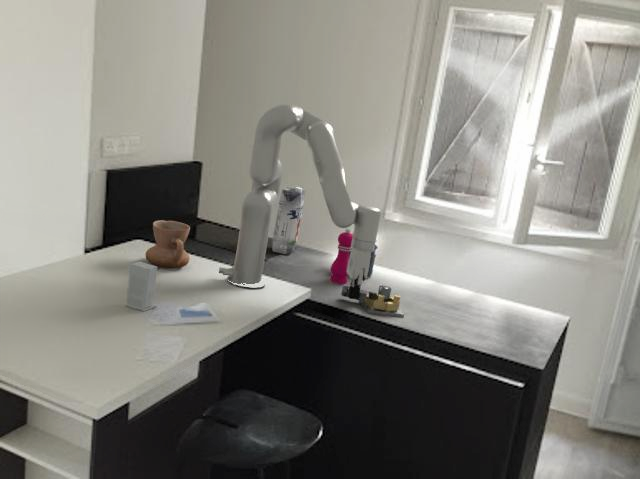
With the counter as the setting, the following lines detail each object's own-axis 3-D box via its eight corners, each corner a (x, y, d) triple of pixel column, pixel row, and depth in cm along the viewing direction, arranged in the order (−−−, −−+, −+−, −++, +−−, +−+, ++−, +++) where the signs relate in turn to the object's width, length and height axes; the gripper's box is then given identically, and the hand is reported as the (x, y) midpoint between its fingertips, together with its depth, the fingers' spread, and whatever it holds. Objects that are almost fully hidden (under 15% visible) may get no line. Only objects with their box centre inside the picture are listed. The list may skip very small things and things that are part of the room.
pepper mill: (346, 286, 247) (356, 232, 243) (326, 281, 249) (336, 227, 245) (349, 281, 254) (359, 229, 250) (330, 277, 256) (340, 224, 252)
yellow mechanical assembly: (337, 298, 226) (339, 285, 225) (345, 290, 236) (347, 279, 235) (394, 313, 221) (397, 300, 220) (400, 304, 231) (403, 292, 230)
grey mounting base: (367, 313, 221) (372, 290, 219) (359, 301, 232) (363, 279, 231) (403, 317, 223) (408, 295, 222) (393, 305, 235) (397, 284, 233)
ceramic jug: (137, 257, 236) (142, 217, 232) (178, 258, 243) (183, 219, 240) (154, 274, 221) (159, 232, 218) (196, 274, 229) (202, 233, 226)
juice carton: (269, 251, 277) (280, 185, 272) (275, 246, 287) (286, 183, 282) (291, 256, 276) (302, 190, 270) (296, 251, 286) (307, 187, 281)
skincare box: (152, 308, 190) (158, 266, 187) (144, 311, 186) (149, 269, 183) (133, 302, 192) (139, 261, 189) (124, 306, 188) (130, 263, 185)
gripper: (347, 237, 229) (337, 290, 233) (356, 248, 215) (346, 304, 218) (369, 240, 230) (359, 292, 234) (379, 251, 216) (369, 307, 220)
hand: (352, 298), depth 226 cm, fingers closed
